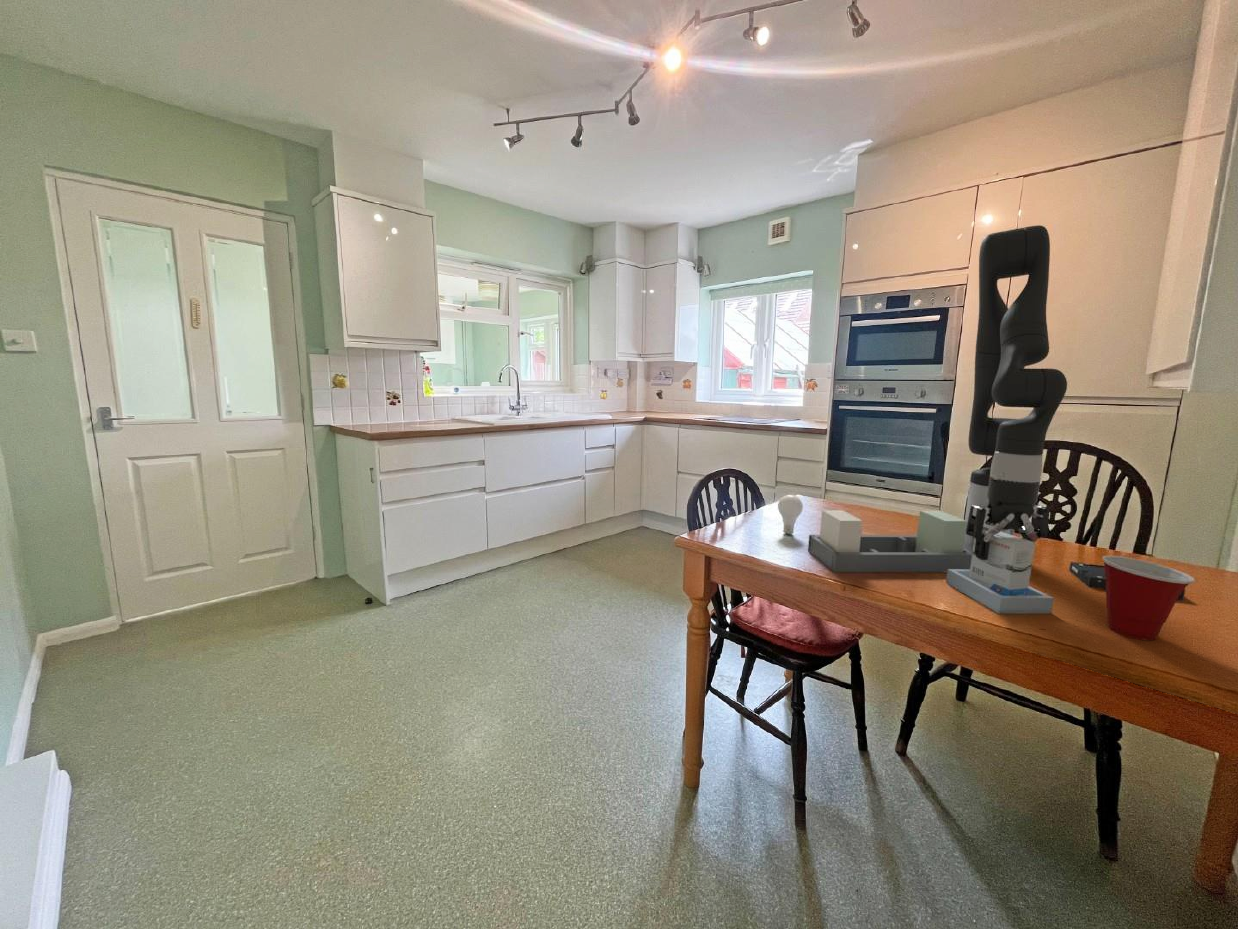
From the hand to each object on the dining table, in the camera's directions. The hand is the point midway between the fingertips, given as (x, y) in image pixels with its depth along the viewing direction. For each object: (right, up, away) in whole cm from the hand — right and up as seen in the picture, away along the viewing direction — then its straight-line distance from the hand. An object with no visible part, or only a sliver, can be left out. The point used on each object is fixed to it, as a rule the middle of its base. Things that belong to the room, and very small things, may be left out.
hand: (1002, 558), depth 97 cm
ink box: (0, -7, +1) cm, 7 cm away
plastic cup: (+13, -11, -12) cm, 21 cm away
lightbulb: (-28, -1, +40) cm, 49 cm away
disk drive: (+32, -8, +9) cm, 34 cm away
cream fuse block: (-23, -4, +20) cm, 31 cm away
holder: (-11, -4, +21) cm, 24 cm away
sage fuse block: (+1, -5, +21) cm, 22 cm away
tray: (0, -8, +1) cm, 8 cm away
